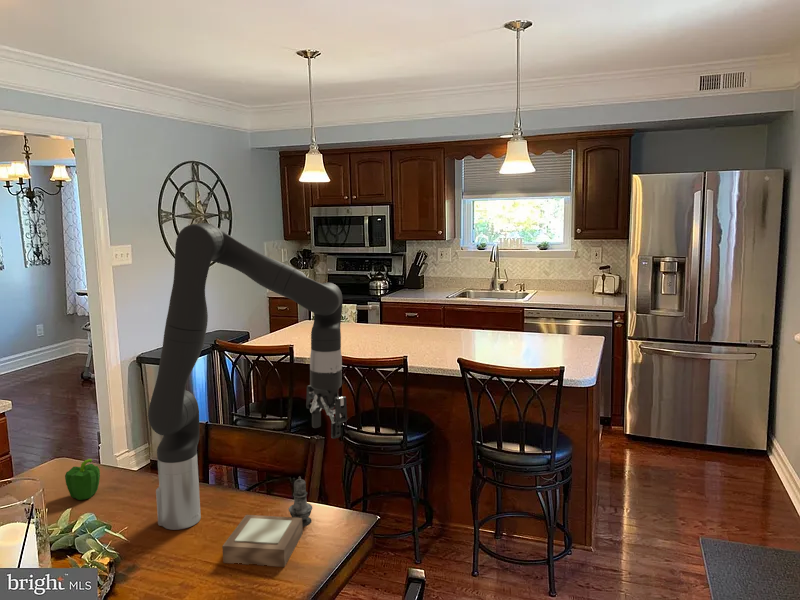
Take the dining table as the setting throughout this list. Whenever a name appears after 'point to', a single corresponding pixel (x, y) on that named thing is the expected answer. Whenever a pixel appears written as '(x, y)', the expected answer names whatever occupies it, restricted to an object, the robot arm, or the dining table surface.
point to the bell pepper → (83, 480)
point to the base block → (263, 540)
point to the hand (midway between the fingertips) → (325, 432)
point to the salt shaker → (300, 503)
